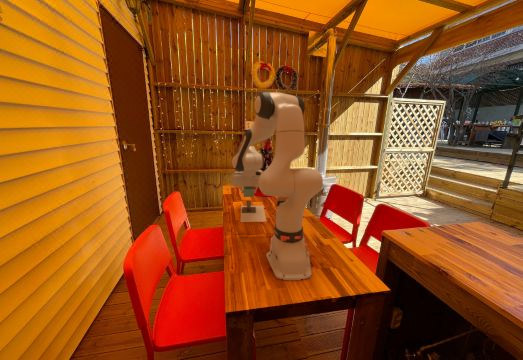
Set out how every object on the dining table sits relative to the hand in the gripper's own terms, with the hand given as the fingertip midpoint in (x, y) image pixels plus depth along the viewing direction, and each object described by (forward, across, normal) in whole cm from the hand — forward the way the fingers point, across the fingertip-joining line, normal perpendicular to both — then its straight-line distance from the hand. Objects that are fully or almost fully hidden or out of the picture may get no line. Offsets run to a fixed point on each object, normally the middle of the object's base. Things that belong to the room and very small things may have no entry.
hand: (248, 192), depth 135 cm
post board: (+13, +2, -5) cm, 14 cm away
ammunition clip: (+14, +24, +7) cm, 29 cm away
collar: (+2, 0, 0) cm, 2 cm away
